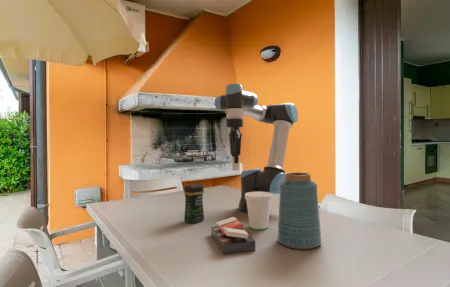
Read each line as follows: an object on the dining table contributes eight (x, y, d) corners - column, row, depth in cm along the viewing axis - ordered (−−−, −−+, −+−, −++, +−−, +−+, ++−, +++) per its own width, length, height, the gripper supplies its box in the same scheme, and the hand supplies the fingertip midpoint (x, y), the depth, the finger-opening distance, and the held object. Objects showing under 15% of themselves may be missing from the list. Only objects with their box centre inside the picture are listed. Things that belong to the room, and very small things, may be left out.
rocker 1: (234, 220, 116) (233, 216, 116) (238, 223, 112) (237, 219, 112) (217, 226, 114) (216, 222, 114) (219, 229, 110) (218, 225, 110)
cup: (274, 224, 128) (274, 192, 128) (270, 232, 117) (269, 197, 116) (249, 222, 132) (248, 190, 132) (242, 230, 121) (241, 196, 121)
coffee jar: (192, 224, 130) (191, 186, 130) (181, 221, 135) (181, 184, 135) (207, 220, 137) (206, 183, 137) (196, 217, 142) (196, 182, 142)
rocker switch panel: (233, 227, 125) (233, 217, 125) (255, 250, 98) (255, 238, 98) (208, 229, 122) (208, 219, 122) (223, 254, 95) (222, 241, 95)
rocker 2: (239, 223, 110) (238, 219, 110) (242, 227, 105) (241, 223, 105) (221, 231, 108) (219, 227, 108) (223, 235, 104) (222, 231, 103)
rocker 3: (243, 234, 104) (244, 229, 104) (247, 238, 99) (248, 233, 99) (223, 231, 102) (224, 227, 102) (226, 235, 97) (227, 231, 97)
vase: (315, 254, 94) (314, 177, 94) (271, 245, 103) (270, 175, 102) (325, 239, 108) (324, 172, 108) (286, 232, 116) (284, 170, 116)
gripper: (223, 119, 129) (224, 169, 129) (230, 117, 116) (231, 172, 116) (238, 119, 131) (239, 168, 131) (247, 117, 118) (248, 171, 118)
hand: (235, 170), depth 124 cm, fingers closed
